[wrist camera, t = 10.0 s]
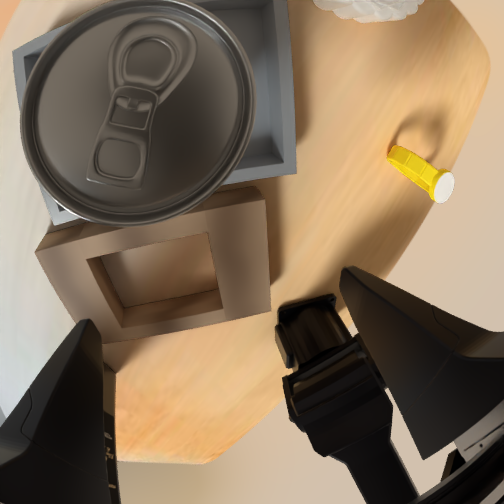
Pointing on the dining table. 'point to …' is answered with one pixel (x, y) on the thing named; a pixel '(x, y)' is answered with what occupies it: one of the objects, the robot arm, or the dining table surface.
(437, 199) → the watch
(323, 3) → the mooncake
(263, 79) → the tray
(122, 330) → the holder
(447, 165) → the dining table surface
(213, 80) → the can
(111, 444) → the wine bottle
